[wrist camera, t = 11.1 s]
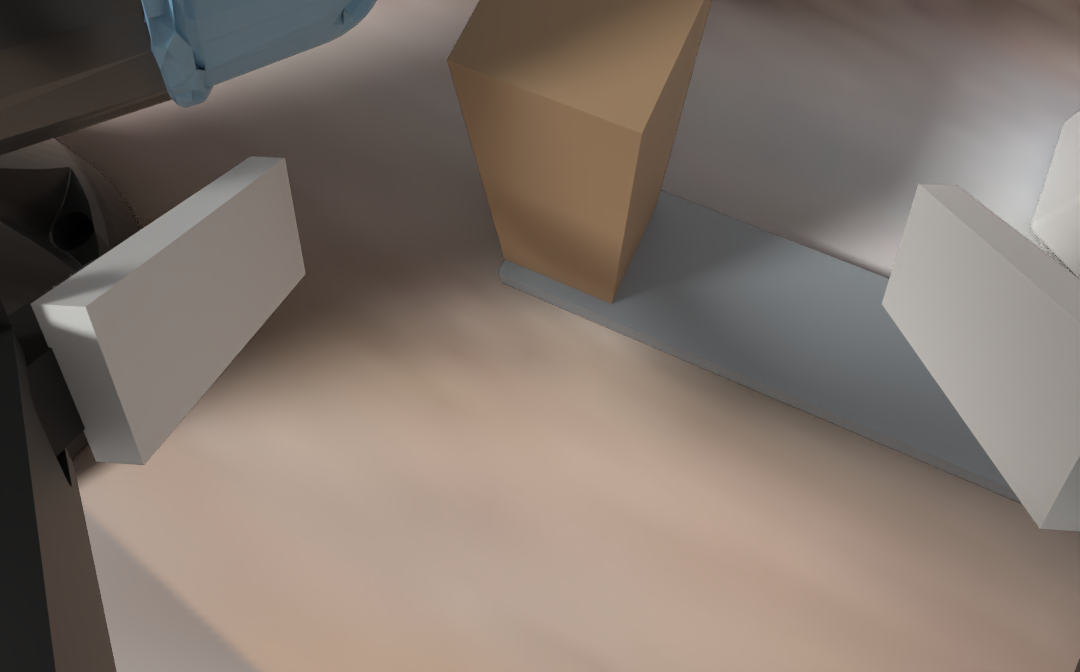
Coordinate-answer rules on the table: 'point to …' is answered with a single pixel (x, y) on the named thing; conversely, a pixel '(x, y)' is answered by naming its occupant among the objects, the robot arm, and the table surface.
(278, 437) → the table surface
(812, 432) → the table surface
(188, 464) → the table surface
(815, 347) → the pull strip
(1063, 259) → the jar
